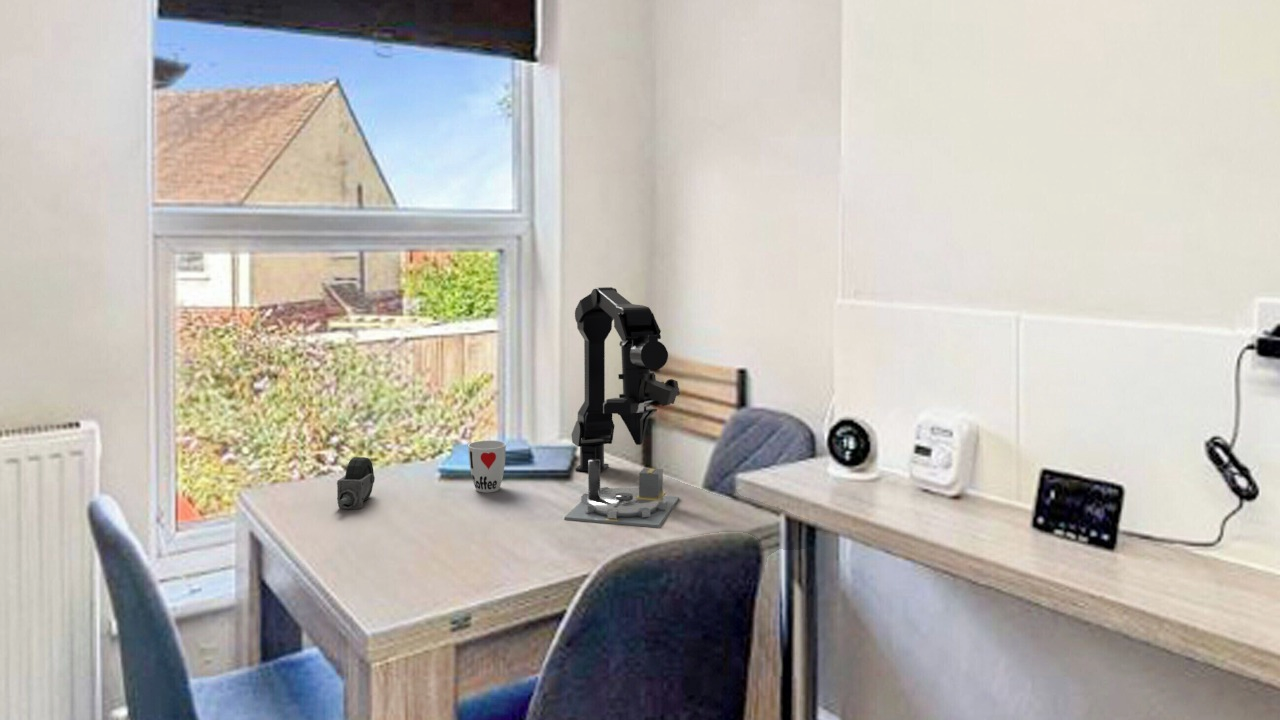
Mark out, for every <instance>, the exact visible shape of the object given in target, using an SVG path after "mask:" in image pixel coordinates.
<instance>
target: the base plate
mask: <svg viewBox="0 0 1280 720" xmlns="http://www.w3.org/2000/svg"><path fill="white" fill-rule="evenodd" d="M663 500H667V508H666V509H665V510H663V509H658V510H657V511H655V512H653V513H650V516H648V517H640V516H632V517H617V519H615V518H608V516H606V515H601V514H598V513H595V512H590V513H587V512H585V511H583V504H585V503H581V501H580V502H579V503H578V504H577V505H576V506H574V508H573V509H571V510H570V511H569V512H568V513H567V514H566V515H564V520H566V521H574V522H575V521H577V522H588V523H600V524H613V525H624V526H635V527H646V528H647V527H648V528H656V529H657V528H658V529H659V528H660V527H661V525H662V524H663V523H664V521H665V520H666V519H667V517H668V516H669V514H670V512H672V510H673V508H674V507H675V506H676V504H677V503H678V501H679V500H680V496H674V495H673V496H671V495H664V496H663Z"/></svg>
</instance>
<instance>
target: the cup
mask: <svg viewBox="0 0 1280 720" xmlns="http://www.w3.org/2000/svg"><path fill="white" fill-rule="evenodd" d="M506 446H507V443H506V442H504V441H499V440H477V441H473V442H470V443H469V444H467V451H468V460H469V468H470V469H469V470H470V475H471V478H472V482H473V485H474V488H475V491H476V492H479V493H494V492H495V493H496V492H497V491H499V490H500V488H501V485H502V482H503V477H504V473H505V472H504V471H505V466H506V465H505V464H506V449H507V448H506Z"/></svg>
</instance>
